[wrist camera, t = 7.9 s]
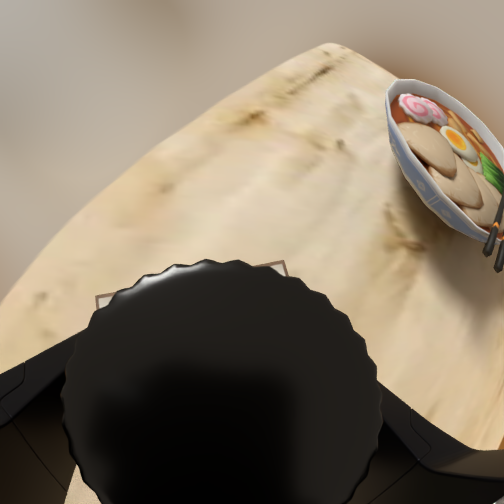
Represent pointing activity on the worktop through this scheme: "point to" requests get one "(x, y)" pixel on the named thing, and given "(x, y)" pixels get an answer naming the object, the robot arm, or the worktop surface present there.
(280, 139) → the worktop surface
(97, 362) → the supplement bottle
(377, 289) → the worktop surface
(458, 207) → the ramen bowl
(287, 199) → the worktop surface
